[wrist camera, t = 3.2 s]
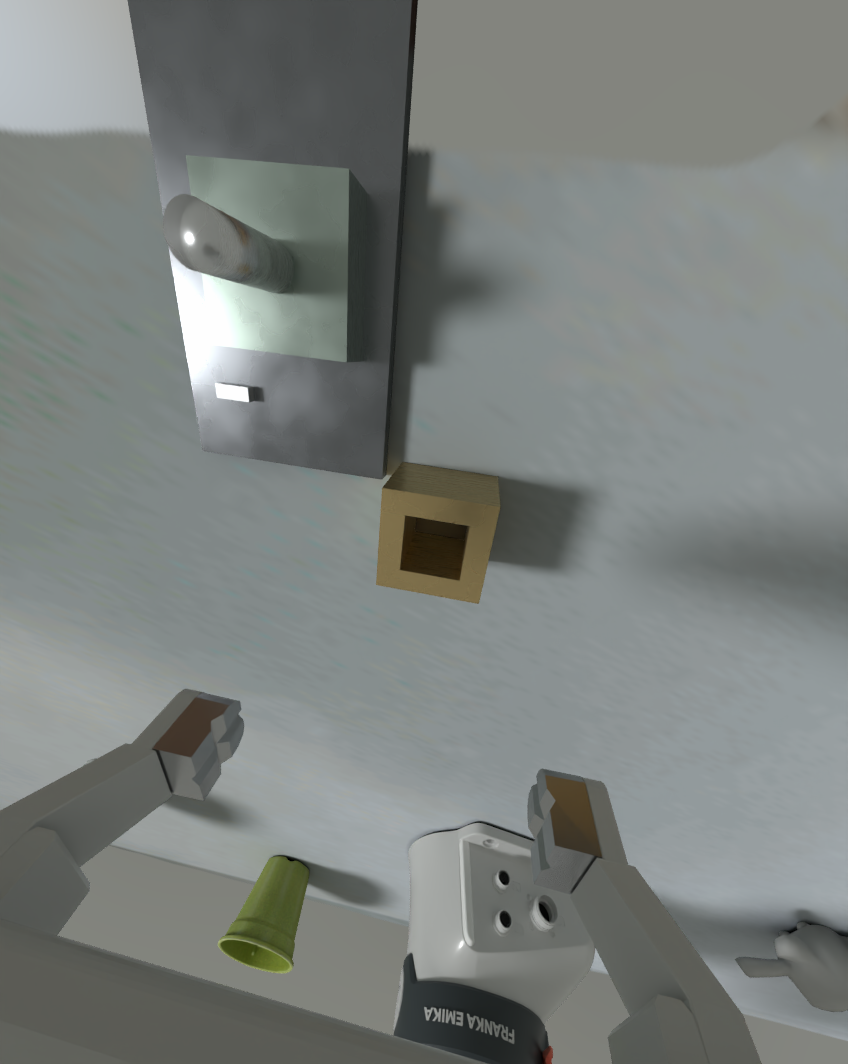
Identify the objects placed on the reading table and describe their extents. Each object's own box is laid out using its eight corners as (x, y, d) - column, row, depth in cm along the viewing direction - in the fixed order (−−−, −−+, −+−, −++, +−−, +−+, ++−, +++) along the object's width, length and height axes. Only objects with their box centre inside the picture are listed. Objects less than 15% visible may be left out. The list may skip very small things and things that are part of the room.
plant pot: (335, 880, 51) (307, 975, 43) (287, 885, 54) (253, 974, 46) (292, 844, 48) (255, 938, 40) (245, 852, 51) (202, 940, 44)
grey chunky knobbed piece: (881, 1027, 37) (747, 1008, 36) (833, 952, 42) (713, 933, 40) (966, 1003, 33) (817, 980, 32) (902, 922, 37) (770, 900, 36)
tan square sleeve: (497, 476, 22) (500, 506, 18) (480, 559, 25) (478, 603, 21) (402, 461, 23) (382, 487, 19) (395, 544, 26) (376, 584, 21)
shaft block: (418, -8, 14) (342, -401, 7) (386, 474, 23) (338, 531, 16) (141, -18, 16) (-186, -370, 8) (212, 447, 25) (91, 488, 17)
